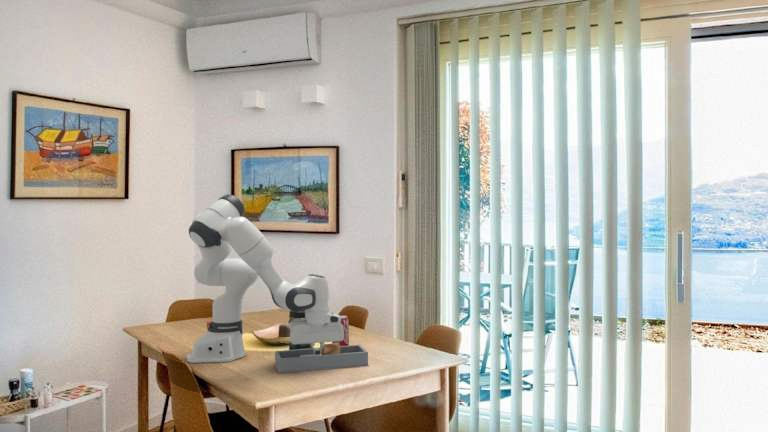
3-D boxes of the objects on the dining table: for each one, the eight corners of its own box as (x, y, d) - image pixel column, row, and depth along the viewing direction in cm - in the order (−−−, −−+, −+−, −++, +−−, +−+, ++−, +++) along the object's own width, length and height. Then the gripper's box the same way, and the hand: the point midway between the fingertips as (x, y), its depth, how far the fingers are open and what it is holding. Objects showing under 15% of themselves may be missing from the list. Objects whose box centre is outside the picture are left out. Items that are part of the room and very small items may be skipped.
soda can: (346, 349, 242) (346, 318, 242) (329, 349, 244) (329, 318, 243) (350, 345, 249) (350, 315, 249) (334, 345, 251) (334, 314, 250)
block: (324, 358, 217) (324, 348, 217) (321, 354, 223) (321, 344, 223) (340, 357, 219) (340, 346, 219) (337, 353, 225) (337, 343, 225)
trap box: (278, 373, 209) (278, 359, 209) (275, 364, 221) (275, 351, 221) (367, 365, 219) (367, 352, 219) (360, 357, 230) (360, 344, 230)
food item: (299, 337, 266) (298, 315, 265) (311, 339, 261) (311, 317, 261) (276, 343, 255) (276, 320, 255) (289, 345, 250) (289, 322, 250)
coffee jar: (296, 356, 232) (296, 310, 231) (286, 353, 238) (285, 307, 237) (317, 352, 238) (316, 307, 238) (306, 349, 244) (305, 304, 243)
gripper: (290, 320, 213) (290, 358, 213) (345, 317, 219) (345, 354, 219) (288, 317, 219) (288, 354, 219) (341, 314, 225) (341, 350, 225)
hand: (317, 354), depth 219 cm, fingers closed
